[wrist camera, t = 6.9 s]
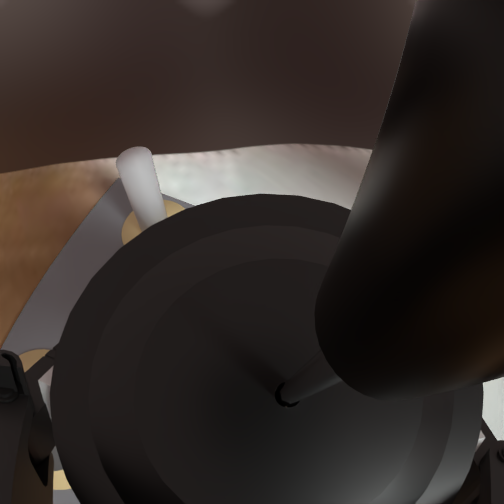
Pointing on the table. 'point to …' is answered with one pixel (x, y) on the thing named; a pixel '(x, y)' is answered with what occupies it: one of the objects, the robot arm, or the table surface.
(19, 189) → the table surface
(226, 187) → the table surface
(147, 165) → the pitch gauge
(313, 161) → the table surface
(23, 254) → the table surface
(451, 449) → the french press
